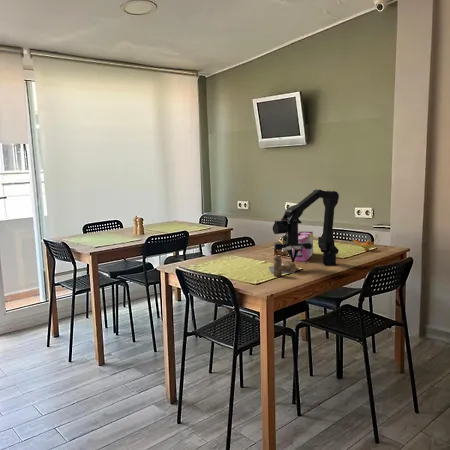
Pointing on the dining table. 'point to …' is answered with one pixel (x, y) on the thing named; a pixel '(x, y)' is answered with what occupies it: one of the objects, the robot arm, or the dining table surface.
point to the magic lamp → (366, 244)
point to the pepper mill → (277, 266)
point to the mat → (282, 271)
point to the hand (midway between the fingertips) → (292, 262)
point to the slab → (288, 266)
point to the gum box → (303, 252)
